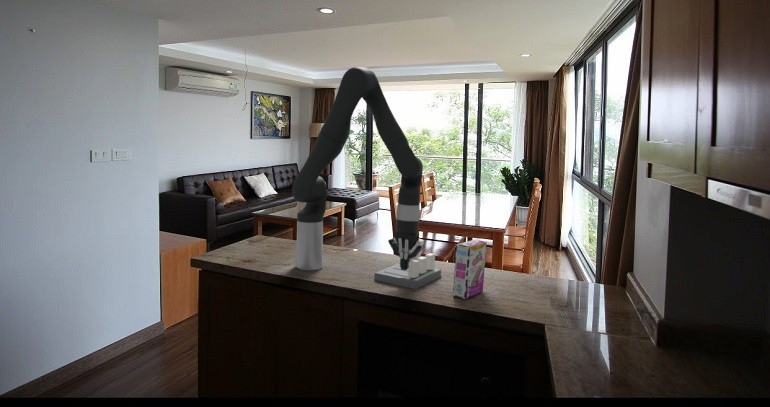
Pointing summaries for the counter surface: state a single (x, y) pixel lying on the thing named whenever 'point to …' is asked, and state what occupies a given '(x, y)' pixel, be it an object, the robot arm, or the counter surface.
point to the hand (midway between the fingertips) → (404, 269)
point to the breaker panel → (401, 276)
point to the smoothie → (419, 252)
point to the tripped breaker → (413, 269)
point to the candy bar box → (469, 268)
